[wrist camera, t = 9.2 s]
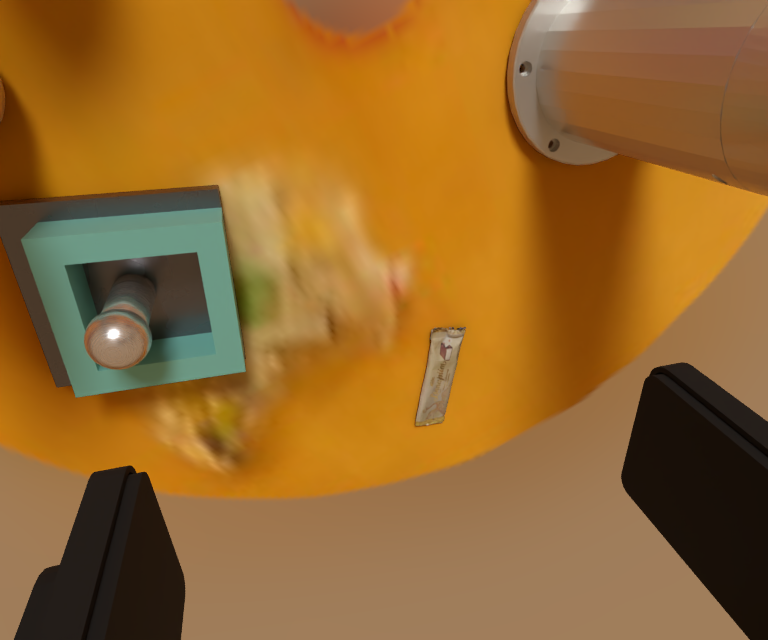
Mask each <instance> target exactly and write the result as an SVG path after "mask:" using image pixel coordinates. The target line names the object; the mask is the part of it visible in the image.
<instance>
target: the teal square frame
mask: <svg viewBox="0 0 768 640" xmlns="http://www.w3.org/2000/svg"><path fill="white" fill-rule="evenodd" d="M21 242H22V245H23V248H24V251H25V254H26V256H27V259H28V262H29V265H30V268H31V271H32V274H33V276H34V279H35V282H36V285H37V288H38V291H39V293H40V296H41V299H42V302H43V305H44V308H45V311H46V313H47V316H48V319H49V322H50V325H51V328H52V331H53V333H54V336H55V339H56V342H57V345H58V348H59V351H60V353H61V356H62V359H63V362H64V365H65V368H66V370H67V373H68V376H69V379H70V382H71V385H72V388H73V390H74V393H75V396H76V398H77V397H83V396H90V395H96V394H103V393H109V392H116V391H122V390H129V389H136V388H142V387H149V386H155V385H162V384H168V383H175V382H181V381H188V380H194V379H201V378H207V377H214V376H220V375H227V374H233V373H240V372H246V369H245V357H244V347H243V341H242V334H241V328H240V322H239V315H238V309H237V302H236V296H235V290H234V283H233V277H232V270H231V264H230V258H229V251H228V245H227V238H226V232H225V226H224V219H223V213H222V207H221V208H209V209H196V210H184V211H172V212H159V213H147V214H135V215H123V216H110V217H98V218H86V219H73V220H61V221H49V222H37V223H36V224H35V226H34V227H33V228H32V229H31V230H30V231H29V232H28V233H27V234H26V235H25V236H24V237H23V238H22V239H21ZM192 252H197V254H198V259H199V265H200V270H201V275H202V281H203V286H204V291H205V297H206V302H207V308H208V313H209V318H210V324H211V329H212V332H210V333H203V334H195V335H188V336H180V337H173V338H165V339H158V340H152V343H151V347H150V350H149V352H148V354H147V355H146V357H145V358H144V359H143V360H142V361H141V362H139V363H138V364H136V365H135V366H132V367H130V368H127V369H120V370H115V369H108V368H105V367H102V366H100V365H99V364H97V363H96V362H94V361H93V360H92V359H91V358H90V356H89V355H88V353H87V351H86V349H85V345H84V334H85V331H86V328H87V326H88V324H89V323H90V322H91V321H92V319H93V318H95V317H96V316H97V312H96V309H95V305H94V302H93V299H92V295H91V292H90V289H89V285H88V282H87V279H86V275H85V272H84V269H83V265H82V263H92V262H102V261H112V260H122V259H132V258H142V257H152V256H162V255H172V254H182V253H192Z"/></svg>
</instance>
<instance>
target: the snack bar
mask: <svg viewBox="0 0 768 640" xmlns="http://www.w3.org/2000/svg"><path fill="white" fill-rule="evenodd" d="M449 329H450V330H448V329H447V328H439V327H438V328H434V330H433V329H432V330H431V338H430V339H431V346H430V350H429V357H428V363H427V368H426V373H425V378H424V382H423V386H422V391H421V396H420V401H419V407H418V411H417V417H416V424H415V425H416V426H422V425H429V424H433V423H435V424H436V423H442V422H443V421H444V418H445V417H444V415H445V412H446V408H447V403H448V399H449V395H450V390H451V385H452V381H453V377H454V373H455V370H456V366H457V360H458V355H459V350H460V346H461V343H462V339H463V337H464V333H465V329H466V327H464V328H461V327H460V328H458V329H457V330H451V327H449ZM452 329H454V327H452ZM460 329H461V331H460Z"/></svg>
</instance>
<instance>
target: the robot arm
mask: <svg viewBox="0 0 768 640" xmlns="http://www.w3.org/2000/svg"><path fill="white" fill-rule="evenodd" d="M520 65H521V66H522V69H521V71H519V68H520ZM507 91H508V98H509V103H510V108H511V113H512V115H513V118H514V120H515V123H516V125H517V128H518V129H519V131H520V132H521V134H522V135H523V137H524V138H525V140H526V141H527V142H528V143H529V144H530V145H531V146H532V147H533V148H534V149H535V150H536V151H537V152H539V153H541V154H543V155H544V156H546V157H548V158H550V159H552V160H555V161H558V162H561V163H565V164H571V165H589V164H595V163H598V162H601V161H605V160H608V159H610V158H612V157H614V156H616V155H618V154H621V155H624V156H628V157H631V158H635V159H638V160H642V161H645V162H649V163H652V164H656V165H659V166H663V167H666V168H670V169H673V170H677V171H680V172H684V173H687V174H691V175H694V176H698V177H701V178H705V179H708V180H712V181H715V182H719V183H722V184H726V185H729V186H733V187H736V188H740V189H743V190H747V191H750V192H754V193H757V194H761V195H765V196H768V0H532V1H531V3H530V4H529V6H528V7H527V9H526V11H525V12H524V15H523V17H522V19H521V21H520V23H519V26H518V28H517V30H516V33H515V36H514V40H513V43H512V47H511V50H510V55H509V62H508V70H507ZM549 142H550V143H549ZM621 479H622V484H623V487H624V488H625V490H626V492H627V493H628V495H629V496H630V497H631V498H632V499H633V500H634V502H635V503H636V504H637V505H638V507H639V508H640V509H641V510H642V511H643V513H644V514H645V515H646V516H647V517H648V518H649V520H650V521H651V522H652V523H653V525H654V526H655V527H656V528H657V529H658V531H659V532H660V533H661V534H662V535H663V537H664V538H665V539H666V540H667V541H668V542H669V544H670V545H671V546H672V547H673V548H674V550H675V551H676V552H677V553H678V554H679V556H680V557H681V558H682V559H683V560H684V561H685V563H686V564H687V565H688V566H689V568H690V569H691V570H692V571H693V572H694V574H695V575H696V576H697V577H698V578H699V580H700V581H701V582H702V583H703V584H704V586H705V587H706V588H707V589H708V590H709V591H710V593H711V594H712V595H713V596H714V597H715V599H716V600H717V601H718V602H719V603H720V604H721V606H722V607H723V608H724V609H725V611H726V612H727V613H728V614H729V615H730V617H731V618H732V619H733V620H734V621H735V623H736V624H737V625H738V626H739V627H740V628H741V630H742V631H743V632H744V633H745V634H746V636H747V637H748V638H749V639H750V640H768V422H767V421H766V420H764V419H763V418H762V417H760V416H759V415H758V414H756V413H755V412H753V411H752V410H751V409H750V408H748V407H747V406H745V405H744V404H743V403H741V402H740V401H739V400H737V399H736V398H735V397H733V396H732V395H731V394H729V393H728V392H727V391H725V390H724V389H723V388H721V387H720V386H718V385H717V384H716V383H715V382H713V381H712V380H710V379H709V378H708V377H706V376H705V375H704V374H702V373H701V372H700V371H698V370H697V369H696V368H694V367H693V366H691V365H690V364H688V363H676V364H671V365H666V366H660V367H657V368H654V369H653V370H652V371H651V373H650V375H649V377H647V378H646V379H645V381H644V385H643V389H642V393H641V397H640V401H639V405H638V409H637V413H636V417H635V421H634V425H633V429H632V433H631V437H630V441H629V446H628V449H627V453H626V457H625V462H624V466H623V470H622V474H621ZM184 602H185V581H184V575H183V572H182V569H181V566H180V563H179V560H178V558H177V555H176V552H175V549H174V546H173V544H172V541H171V538H170V535H169V532H168V529H167V527H166V524H165V521H164V519H163V516H162V513H161V510H160V507H159V504H158V502H157V499H156V496H155V493H154V490H153V487H152V484H151V482H150V479H149V476H148V474H147V473H146V472H141V473H136V471H135V469H134V468H133V467H132V466H124V467H119V468H114V469H108V470H103V471H98V472H94V473H93V474H92V475H91V476H90V478H89V481H88V484H87V487H86V490H85V493H84V495H83V499H82V501H81V504H80V507H79V510H78V513H77V516H76V519H75V522H74V525H73V528H72V531H71V534H70V537H69V540H68V543H67V545H66V549H65V552H64V554H63V557H62V560H61V563H60V565H57V566H52V567H49V568H46V569H44V571H43V572H42V573H41V574H40V575H39V577H38V579H37V581H36V583H35V585H34V587H33V590H32V592H31V595H30V598H29V600H28V603H27V606H26V609H25V612H24V614H23V617H22V619H21V622H20V625H19V627H18V630H17V633H16V635H15V638H14V640H181V632H182V622H183V612H184Z"/></svg>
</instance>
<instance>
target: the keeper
mask: <svg viewBox="0 0 768 640" xmlns="http://www.w3.org/2000/svg"><path fill="white" fill-rule="evenodd" d="M221 207H222V206H221V200H220V194H219V187H218V185H211V186H197V187H184V188H171V189H158V190H144V191H131V192H118V193H104V194H91V195H78V196H65V197H51V198H38V199H25V200H12V201H0V236H1V239H2V242H3V244H4V247H5V250H6V253H7V255H8V258H9V261H10V263H11V266H12V269H13V271H14V274H15V277H16V279H17V282H18V285H19V287H20V290H21V293H22V295H23V298H24V301H25V303H26V306H27V309H28V311H29V314H30V317H31V319H32V322H33V325H34V328H35V330H36V333H37V336H38V338H39V341H40V344H41V346H42V349H43V352H44V354H45V357H46V360H47V362H48V365H49V368H50V370H51V373H52V376H53V378H54V381H55V384H56V386H57V387H64V386H71V382H70V379H69V376H68V373H67V370H66V368H65V365H64V362H63V359H62V356H61V353H60V351H59V348H58V345H57V342H56V339H55V336H54V333H53V331H52V328H51V325H50V322H49V319H48V316H47V313H46V311H45V308H44V305H43V302H42V299H41V296H40V293H39V291H38V288H37V285H36V282H35V279H34V276H33V274H32V271H31V268H30V265H29V262H28V259H27V256H26V254H25V251H24V248H23V245H22V242H21V239H22V238H23V237H24V236H25V235H26V234H27V233H28V232H29V231H30V230H31V229H32V228H33V227H34V226H35V224H36V223H37V222H49V221H61V220H73V219H86V218H98V217H110V216H123V215H135V214H147V213H159V212H172V211H184V210H196V209H209V208H221ZM222 213H223V212H222ZM224 226H225V225H224ZM225 232H226V231H225ZM226 238H227V237H226ZM227 245H228V244H227ZM228 251H229V250H228ZM229 258H230V256H229ZM230 264H231V262H230ZM82 265H83V269H84V272H85V275H86V279H87V282H88V285H89V289H90V292H91V295H92V299H93V302H94V305H95V309H96V312H97V316H96V317H95V318H93V319H92V321H91V322H90V323H89V324H88V326H87V328H86V331H85V334H84V345H85V349H86V351H87V353H88V355H89V356H90V358H91V359H92V360H93V361H94V362H96V363H97V364H99V365H100V366H102V367H105V368H108V369H115V370H120V369H127V368H130V367H132V366H135V365H136V364H138V363H139V362H141V361H142V360H143V359H144V358H145V357H146V355H147V354H148V352H149V350H150V347H151V343H152V340H158V339H165V338H173V337H180V336H188V335H195V334H203V333H210V332H212V329H211V324H210V318H209V313H208V308H207V302H206V297H205V291H204V286H203V281H202V275H201V270H200V265H199V259H198V254H197V252H192V253H182V254H172V255H162V256H152V257H142V258H132V259H122V260H112V261H102V262H92V263H82ZM231 270H232V268H231ZM232 277H233V275H232ZM233 283H234V281H233ZM234 290H235V287H234ZM235 296H236V293H235ZM236 302H237V300H236ZM237 309H238V306H237ZM238 315H239V312H238ZM239 322H240V318H239ZM240 328H241V324H240ZM241 334H242V331H241ZM242 341H243V337H242ZM243 347H244V343H243ZM244 357H245V349H244ZM245 359H246V358H245Z"/></svg>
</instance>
